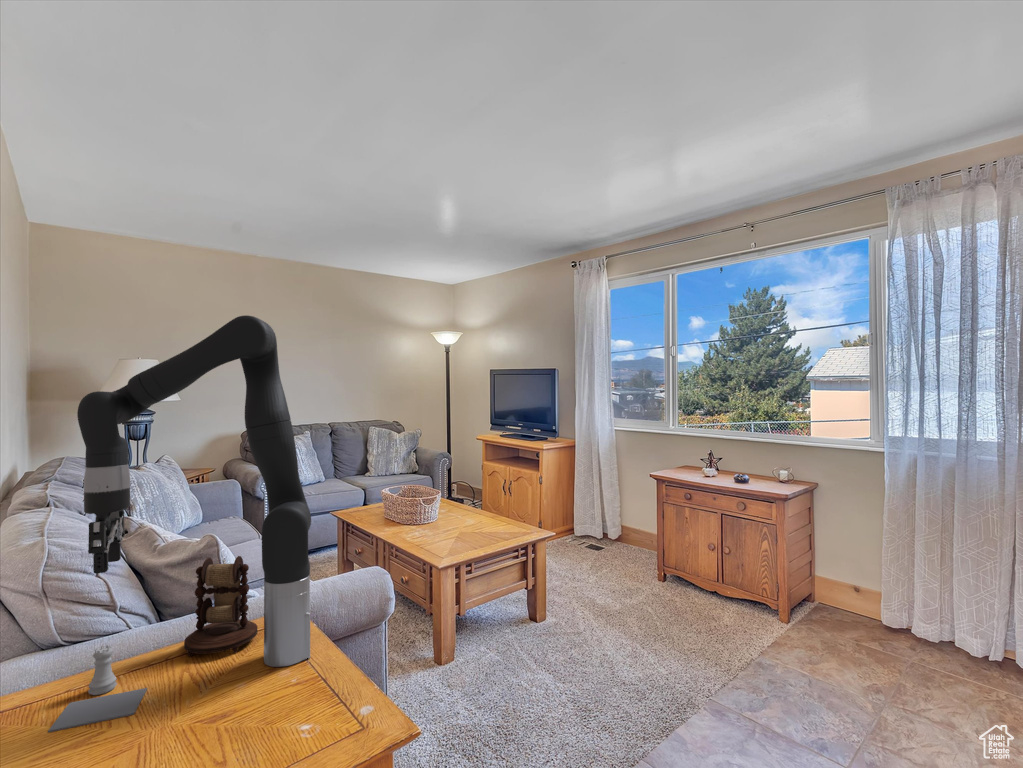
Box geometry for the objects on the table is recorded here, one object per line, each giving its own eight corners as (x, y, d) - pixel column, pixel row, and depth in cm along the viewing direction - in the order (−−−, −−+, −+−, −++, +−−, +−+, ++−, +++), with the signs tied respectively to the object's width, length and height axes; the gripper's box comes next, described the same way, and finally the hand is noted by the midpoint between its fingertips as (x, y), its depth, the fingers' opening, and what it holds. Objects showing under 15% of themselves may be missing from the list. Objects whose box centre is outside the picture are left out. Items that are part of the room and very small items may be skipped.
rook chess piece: (100, 697, 97) (101, 654, 97) (81, 695, 98) (82, 652, 98) (123, 684, 101) (123, 643, 102) (104, 682, 102) (105, 642, 103)
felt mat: (147, 689, 100) (147, 687, 100) (133, 714, 91) (133, 712, 91) (69, 704, 95) (69, 702, 95) (48, 732, 87) (48, 730, 87)
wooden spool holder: (266, 628, 126) (266, 547, 127) (243, 657, 112) (243, 565, 113) (202, 633, 124) (203, 550, 125) (170, 663, 110) (171, 569, 111)
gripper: (119, 490, 101) (119, 573, 100) (138, 481, 114) (138, 555, 113) (71, 494, 98) (71, 580, 97) (96, 485, 111) (96, 560, 110)
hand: (107, 566), depth 105 cm, fingers open, 8 cm apart
